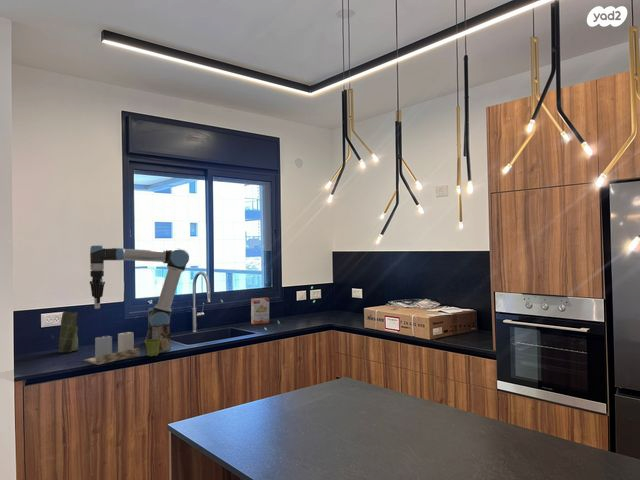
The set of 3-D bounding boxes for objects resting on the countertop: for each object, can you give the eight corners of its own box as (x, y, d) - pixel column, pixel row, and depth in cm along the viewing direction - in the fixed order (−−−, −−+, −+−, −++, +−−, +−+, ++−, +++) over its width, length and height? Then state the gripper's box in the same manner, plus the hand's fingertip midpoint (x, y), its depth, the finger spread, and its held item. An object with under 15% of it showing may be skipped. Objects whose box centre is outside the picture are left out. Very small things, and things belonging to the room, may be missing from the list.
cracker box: (253, 324, 377) (253, 299, 377) (251, 323, 382) (250, 298, 382) (269, 323, 384) (269, 297, 384) (266, 322, 389) (266, 297, 389)
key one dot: (128, 352, 278) (128, 331, 278) (133, 352, 275) (133, 332, 275) (118, 354, 272) (117, 333, 272) (123, 355, 269) (123, 334, 270)
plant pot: (155, 357, 270) (155, 342, 270) (141, 356, 272) (141, 341, 272) (164, 353, 279) (164, 339, 280) (150, 353, 281) (150, 338, 281)
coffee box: (163, 348, 292) (163, 323, 293) (170, 349, 289) (170, 324, 290) (151, 351, 284) (151, 325, 285) (159, 353, 281) (159, 326, 282)
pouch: (61, 350, 291) (60, 310, 291) (82, 349, 294) (81, 309, 294) (55, 354, 280) (55, 312, 281) (77, 353, 283) (77, 311, 284)
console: (125, 352, 284) (125, 345, 284) (139, 355, 276) (139, 348, 276) (83, 361, 262) (83, 354, 262) (98, 364, 255) (98, 357, 255)
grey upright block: (106, 356, 266) (106, 335, 266) (112, 357, 264) (111, 336, 264) (95, 359, 261) (95, 337, 261) (100, 360, 258) (100, 338, 258)
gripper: (85, 270, 289) (85, 308, 289) (97, 270, 282) (97, 309, 282) (96, 269, 295) (97, 306, 295) (108, 270, 288) (109, 308, 288)
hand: (97, 308), depth 288 cm, fingers closed
